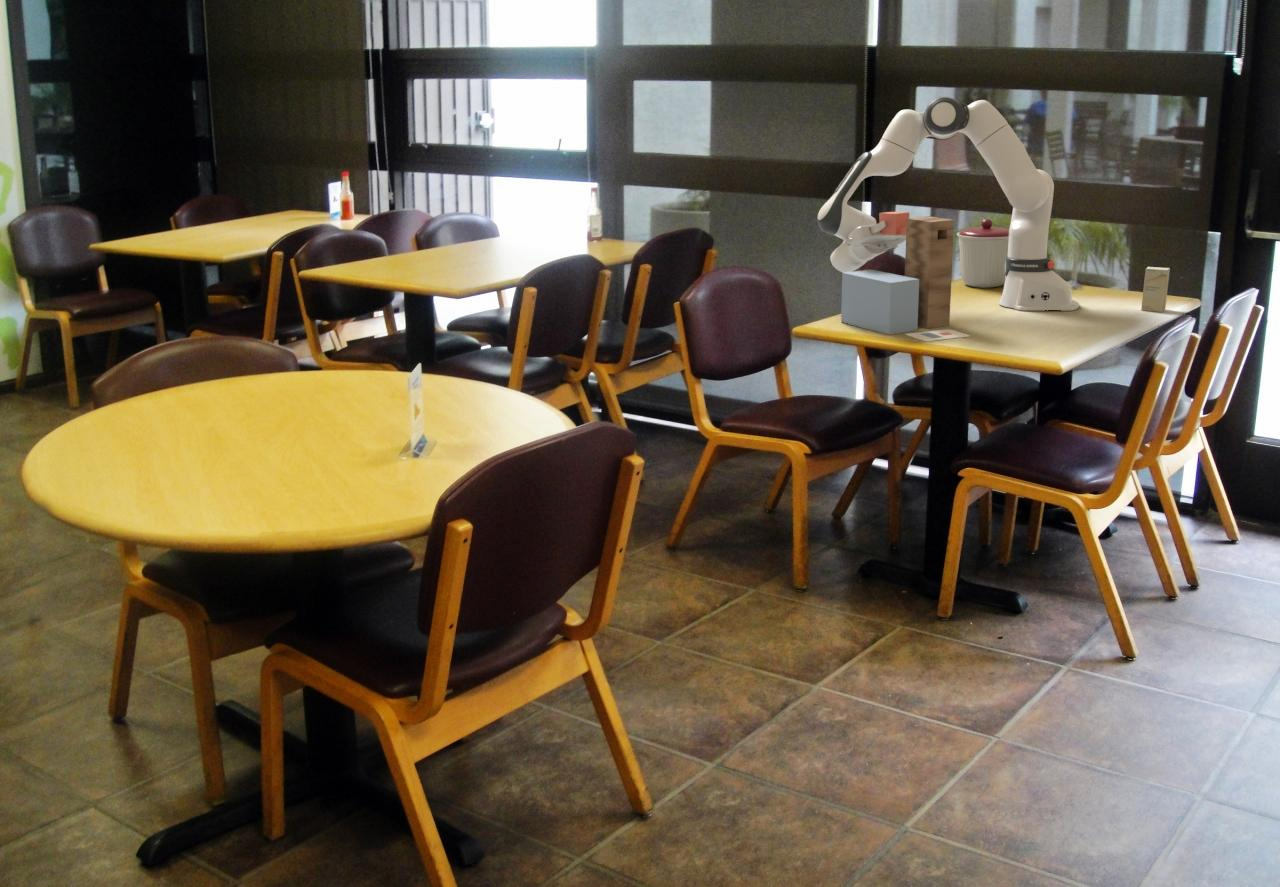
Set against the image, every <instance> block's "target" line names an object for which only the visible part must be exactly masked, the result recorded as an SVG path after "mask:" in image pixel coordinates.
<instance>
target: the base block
mask: <svg viewBox="0 0 1280 887" xmlns="http://www.w3.org/2000/svg"><path fill="white" fill-rule="evenodd" d="M841 273H842V274H841V305H840V306H841V309H840V310H841V312H840V313H841V314H840V315H841V317H840V323H842V322H844V323H843V324H846V323H848V324H847V325H850V324H851V325H850V326H853V325H854V327H857V326H858V328H862V329H866V330H870V331H873V332H877V331H878V333H881V332H882V333H881V334H885V333H886V334H885V335H888V334H890V335H895V334H894V333H896V334H900V333H902V332H903V333H908V332H909V333H910V332H915V330H916V331H918V300H919V279H916V278H911V277H906V276H905V275H900V274H897V273H895V274H894V273H890V272H885V271H881V270H875V269H862V270H854V271H852V272H845V273H843V272H841ZM903 333H902V334H903Z"/></svg>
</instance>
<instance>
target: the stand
mask: <svg viewBox="0 0 1280 887" xmlns="http://www.w3.org/2000/svg"><path fill="white" fill-rule="evenodd" d="M954 228H955V219H950V218H944V217H936V216H929V215H928V216H916V217H909V218H907V226H906V240H905V254H904V256H905V258H904V276H906V277H911V278H916V279H919V300H918V326H917V328H923V329H926V328H927V329H928V328H929V329H934V328H941V327H940V326H942V327H948V326H950V319H951V297H952V296H951V294H952V277H953V274H952V273H953V256H954V255H953V252H954V235H955V234H954V233H955V232H954V230H955V229H954ZM947 325H948V326H947Z"/></svg>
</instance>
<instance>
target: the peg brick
mask: <svg viewBox="0 0 1280 887" xmlns="http://www.w3.org/2000/svg"><path fill="white" fill-rule="evenodd" d="M878 216H879V217H878V218H879V220H878V221H879V222H878V223H880V222H882V221H887V223H888V227H886V228H885V229H882V230H880V233H883V235H906V226H907V218H910V212H909V211H908V212H907V211H885V212H879V213H878Z"/></svg>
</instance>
